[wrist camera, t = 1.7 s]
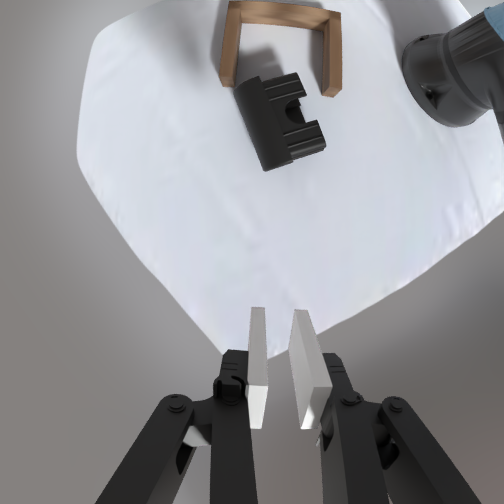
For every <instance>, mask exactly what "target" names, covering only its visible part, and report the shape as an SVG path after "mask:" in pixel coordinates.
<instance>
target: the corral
mask: <svg viewBox="0 0 504 504" xmlns="http://www.w3.org/2000/svg"><path fill="white" fill-rule="evenodd" d="M242 23H251V24H269V25H280V26H289V27H297V28H305V29H311V30H317V31H323V78H322V96H327V97H334V96H335V95H336V94H337V93H338V92H339V91H340V90H341V89H342V33H341V13H340V12H335V11H330V10H325V9H320V8H314V7H308V6H301V5H294V4H285V3H275V2H261V1H229V5H228V12H227V18H226V25H225V32H224V39H223V47H222V55H221V63H220V71H219V78H220V80H221V83H222V85H223V87H235V81H236V71H237V62H238V52H239V43H240V35H241V26H242Z"/></svg>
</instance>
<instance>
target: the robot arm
mask: <svg viewBox="0 0 504 504" xmlns="http://www.w3.org/2000/svg"><path fill="white" fill-rule="evenodd" d="M402 67H403V73H404V77H405V80H406V83H407V85H408V87H409V90H410V91H411V93H412V95H413V97H414V98H415V100H416V101H417V103H418V104H419V105H420V107H421V108H422V109H423V110H424V111H425V112H426V113H427V114H428V115H429V116H430V117H431V118H433V119H434V120H435V121H437V122H439V123H441V124H443V125H445V126H448V127H461V126H467V125H469V124H472V123H473V122H474V121H475V120H476V119H478V118H479V117H480V116H482V115H483V114H484V113H485V112H487V111H488V110H490V109H493V110H494V113H495V116H496V119H497V122H498V126H499V129H500V133H501V136H502V140H503V144H504V2H503V3H501V4H498V5H496V6H494V7H488V8H485V10H484V11H483V12H481V13H479V14H478V15H476V16H474V17H472V18H471V19H469V20H467V21H466V22H464V23H462V24H461V25H459V26H458V27H456V28H454V29H453V30H451V31H450V32H448V33H443V34H433V35H425V36H421V37H418V38H417V39H415V40H414V41H412V42H411V43H410V44H409V45H408V46H407V47H406V48H405V50H404V53H403V58H402ZM288 349H289V355H290V361H291V367H292V373H293V380H294V387H295V393H296V400H297V407H298V413H299V420H300V427H301V429H317V428H318V426H319V423H320V422H321V426H322V430H321V432H320V435H319V437H318V439H317V442H316V446H318V444H319V442H320V449H321V465H322V483H323V504H389V499H388V495H389V497H390V499H391V501H392V502H393V504H481V502H480V501H479V499H478V498H477V496H476V495H475V494H474V492H473V491H472V489H471V488H470V486H469V485H468V483H467V482H466V481H465V479H464V478H463V476H462V475H461V474H460V472H459V471H458V469H457V468H456V467H455V466H454V464H453V462H452V461H451V460H450V458H449V457H448V456H447V454H446V453H445V452H444V450H443V449H442V447H441V446H440V445H439V443H438V442H437V441H436V439H435V438H434V437H433V435H432V434H431V433H430V431H429V430H428V429H427V427H426V426H425V425H424V423H423V422H422V421H421V419H420V418H419V417H418V416H417V414H416V413H415V412H414V410H413V409H412V408H411V406H410V405H409V404H408V403H407V402H406V401H405V400H404V399H402V398H400V397H396V396H391V397H387V398H385V399H384V401H383V402H382V404H380V403H372V402H367V401H364V399H363V397H362V395H360V394H359V393H358V392H355V391H354V390H353V388H352V385H351V383H350V380H349V378H348V375H347V373H346V370H345V368H344V366H343V363H342V360H341V359H340V358H339V357H338V356H337V355H336V354H335V353H322V352H321V349H320V346H319V343H318V340H317V337H316V334H315V331H314V328H313V325H312V322H311V319H310V316H309V313H308V310H294V317H293V323H292V329H291V335H290V341H289V347H288ZM267 371H268V370H267V346H266V324H265V308H262V307H251V318H250V330H249V342H248V351H241V350H229V349H228V350H227V352H226V353H225V354H224V355H223V358H222V364H221V369H220V375H219V376H218V377H217V378H216V379H215V380H214V383H213V396H212V397H210V398H208V399H206V400H202V401H193V402H192V400H191V399H190V398H188V397H187V396H184V395H181V394H172V395H168V396H166V397H164V398H163V399H162V400H161V401H160V403H159V404H158V406H157V407H156V409H155V410H154V412H153V413H152V415H151V417H150V418H149V420H148V421H147V423H146V425H145V426H144V428H143V429H142V431H141V432H140V434H139V435H138V437H137V439H136V440H135V442H134V443H133V445H132V447H131V448H130V450H129V451H128V453H127V454H126V456H125V457H124V459H123V461H122V462H121V464H120V465H119V467H118V468H117V470H116V471H115V473H114V475H113V476H112V478H111V479H110V481H109V482H108V484H107V485H106V487H105V489H104V490H103V492H102V493H101V495H100V496H99V498H98V499H97V501H96V503H95V504H172V503H173V501H174V499H175V496H176V494H177V492H178V490H179V487H180V485H181V483H182V480H183V478H184V476H185V474H186V471H187V469H188V467H189V464H190V462H191V460H192V457H193V455H194V453H195V450H196V448H197V446H205V445H211V470H210V504H258V500H257V491H256V481H255V471H254V461H253V451H252V440H251V429H250V428H257V429H261V427H262V421H263V415H264V409H265V403H266V397H267V390H268V372H267ZM387 493H388V494H387Z"/></svg>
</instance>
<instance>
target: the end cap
mask: <svg viewBox="0 0 504 504" xmlns="http://www.w3.org/2000/svg"><path fill="white" fill-rule="evenodd" d="M305 96H307V94H306V92H305V90H304V87H303V85H302V83H301V81H300V78H299V76H298V74H297V73H296V72H295V73H291V74H288V75H284V76H280V77H277V78H273V79H270V80H266V81H263V82H261V80H260V77H259V76H257V77H254V78H251V79H249V80H247V81H245V82H243V83H242V84H240V85H239V86H238V87H237V88H236V89H235V90H234V97H235V99H236V102H237V104H238V107H239V109H240V112H241V114H242V117H243V119H244V122H245V124H246V127H247V129H248V132H249V134H250V137H251V140H252V142H253V145H254V147H255V150H256V153H257V155H258V158H259V160H260V163H261V166H262V168H263V171H269V170H272V169H275V168H278V167H281V166H284V165H287V164H290V163H292V162H293V160H295V159H298V158H302V157H305V156H308V155H311V154H314V153H317V152H320V151H323V150H324V148H325V147H326V142H325V139H324V136H323V134H322V131H321V129H320V126H319V123H318V121H317V120H314V121H310V122H307V123H306V122H305V120H304V117H303V115H302V112H301V110H300V107H299V106H300V105H301V104H300V102H299V100H298V98H301V97H305Z"/></svg>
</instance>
